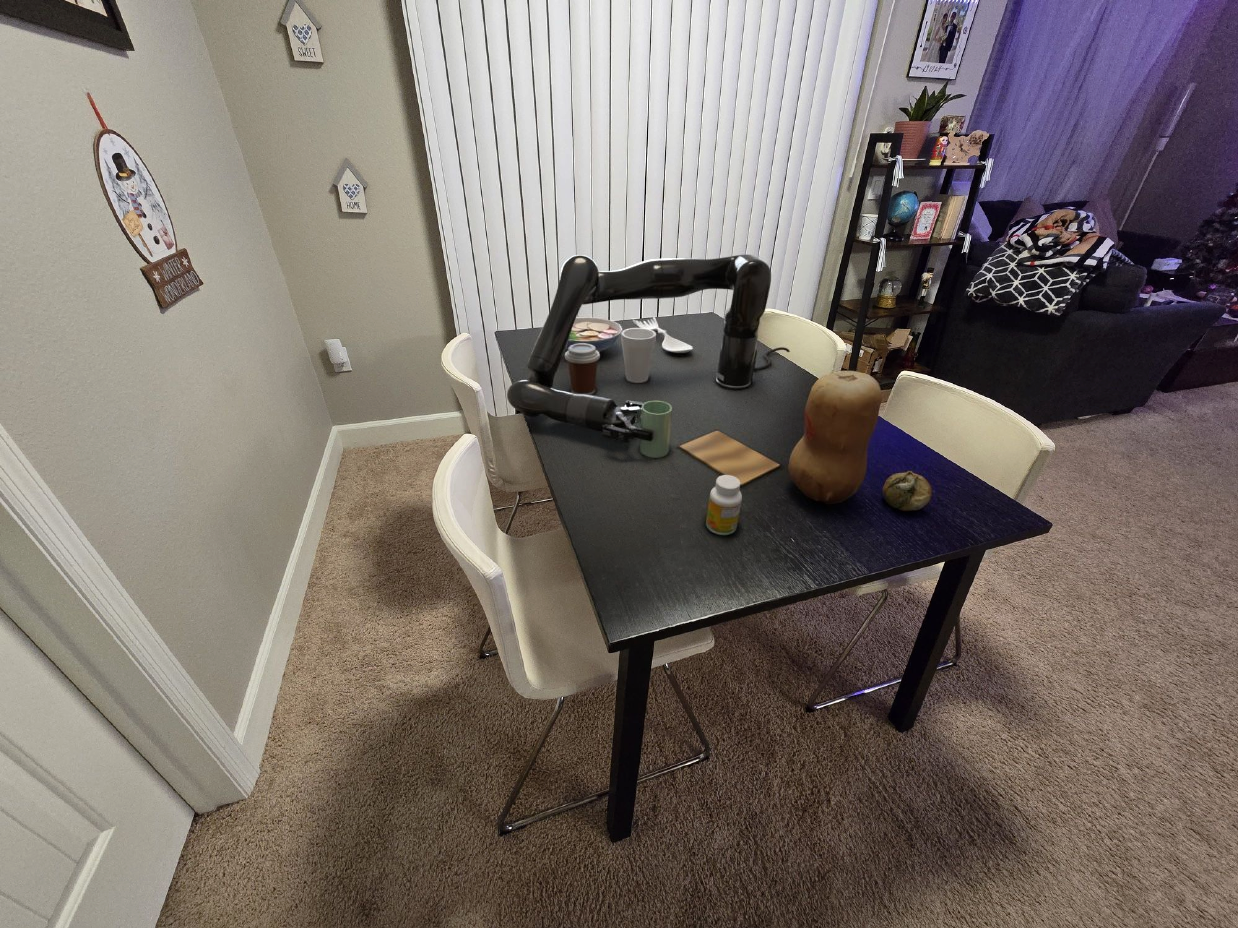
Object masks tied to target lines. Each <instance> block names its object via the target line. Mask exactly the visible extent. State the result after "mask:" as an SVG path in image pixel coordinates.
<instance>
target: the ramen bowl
mask: <svg viewBox="0 0 1238 928" xmlns="http://www.w3.org/2000/svg"><path fill="white" fill-rule="evenodd" d="M622 331H623V327H622V326H621V324H620V323H618V322H616V321H614V320H611V319H606V318H602V317H590V316H586V317H584V316H583V317H576V319H575V322H574V325H573V327H572V331H571V334H570V337H569V340H568V344H567V347H566V349H565V351H568V348H569V347H570V346H571V345H573V344H578V343H586V344H591V345H593V346H595V348H596V350H597V351H598V352H599V353H601V352H604V351H605V350H608V349H609V348H611V347H612V346H613V345H614V344H615V343H616V341H617V340H618V338H619V336H621V333H622Z"/></svg>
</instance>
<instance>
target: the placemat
mask: <svg viewBox="0 0 1238 928" xmlns="http://www.w3.org/2000/svg"><path fill="white" fill-rule="evenodd" d="M678 448H679V449H680V450H682V451H684V452H685V453H687V454H689V455H690V456H692V457H693V458H695V459H696V460H698V461H700V462H701V463H703V464H704V465H706V466H708V467H709V468H711V469H712V470H714V471H716V472H717V473H718V474H721V476H722V475H731V476H734V477H736V478H738V479H739V481H740V487H743V486H745V485H747V484H748V483H750V482H753V481H754V480H757V479H759V478H761V477H763V476H765V475H767V474H769V473H770V472H772V471H774V470H776V469H778V468H780V467H781V464H779V463H778V462H776V461H774V460H773V459H770V458H768V457H767V456H765V455H763V454H761V453H759V452H757V451H755V450H754V449H752V448H750V447H749V446H747V445H745V444H743V443H741V442H739V441H738V440H736V439H734V438H732V437H730V436H728V435H726V434H725V433H723V432H721V431H719V430H715V431H713V432H710V433H708V434H705V435H703V436H701V437H698V438H695V439H693V440H691V441H688V442H686V443H683V444H681V445H679V447H678Z"/></svg>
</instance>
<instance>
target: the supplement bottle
mask: <svg viewBox="0 0 1238 928" xmlns="http://www.w3.org/2000/svg"><path fill="white" fill-rule="evenodd" d="M740 489H741V486H740V481H739V479H738V478H736V477H734V476H731V475H722V474H721V475H719V476H718V477H717V478H716V479H715V486H713V488H712V489H711V490H710V494H709V498H708V505H707V512H706V513H707V514H706V520H705V525H706V527H707V529H708V530H709V531H710V532H711V533H713V534H716V535H719V536H728V535H731V534H733V533H735V532H736V530H737V528H738V523H739V518H740V511H741V507H742V501H743V495H742V492H741V490H740Z"/></svg>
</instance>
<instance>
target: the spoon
mask: <svg viewBox="0 0 1238 928" xmlns="http://www.w3.org/2000/svg"><path fill="white" fill-rule="evenodd" d="M632 323H633V324H634V325H635V326H637V328H645V329H650V330H652V331H654V332H657V333H658V334H659V335H663V336H664V338H663V341H662V343H661V347H662V348H663V349H664V350H665V351H667V352H671V353H674V354H685V353H688V352H691V351H693V350H694V346H692V345H690V344H689V343H686V342H684V341H682V340H679V339H677V338H675V337H672V336H670V335H669V334H668V333H667V330H666V329H662V328H660V327H659V323H658V321H657V318H656V317H655V316H653V318H650V320H649V319H647V321H645V320H643V322H642V321H641V320H635V319H632Z"/></svg>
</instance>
